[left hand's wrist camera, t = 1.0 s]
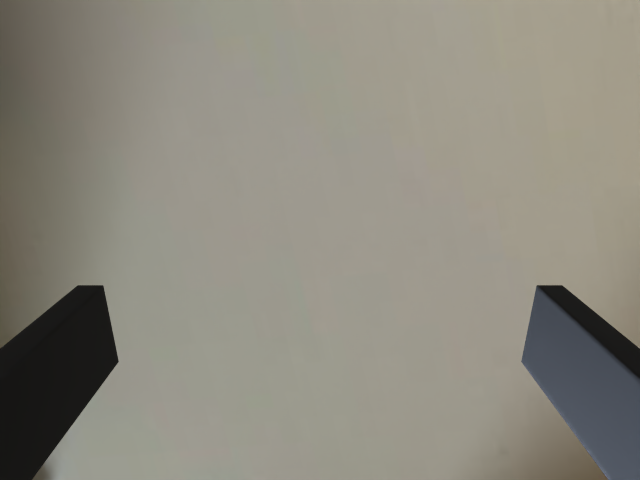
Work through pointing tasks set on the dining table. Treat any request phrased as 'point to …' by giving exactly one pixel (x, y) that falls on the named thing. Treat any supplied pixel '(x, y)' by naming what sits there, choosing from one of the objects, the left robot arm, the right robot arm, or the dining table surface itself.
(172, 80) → the dining table surface
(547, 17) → the dining table surface
